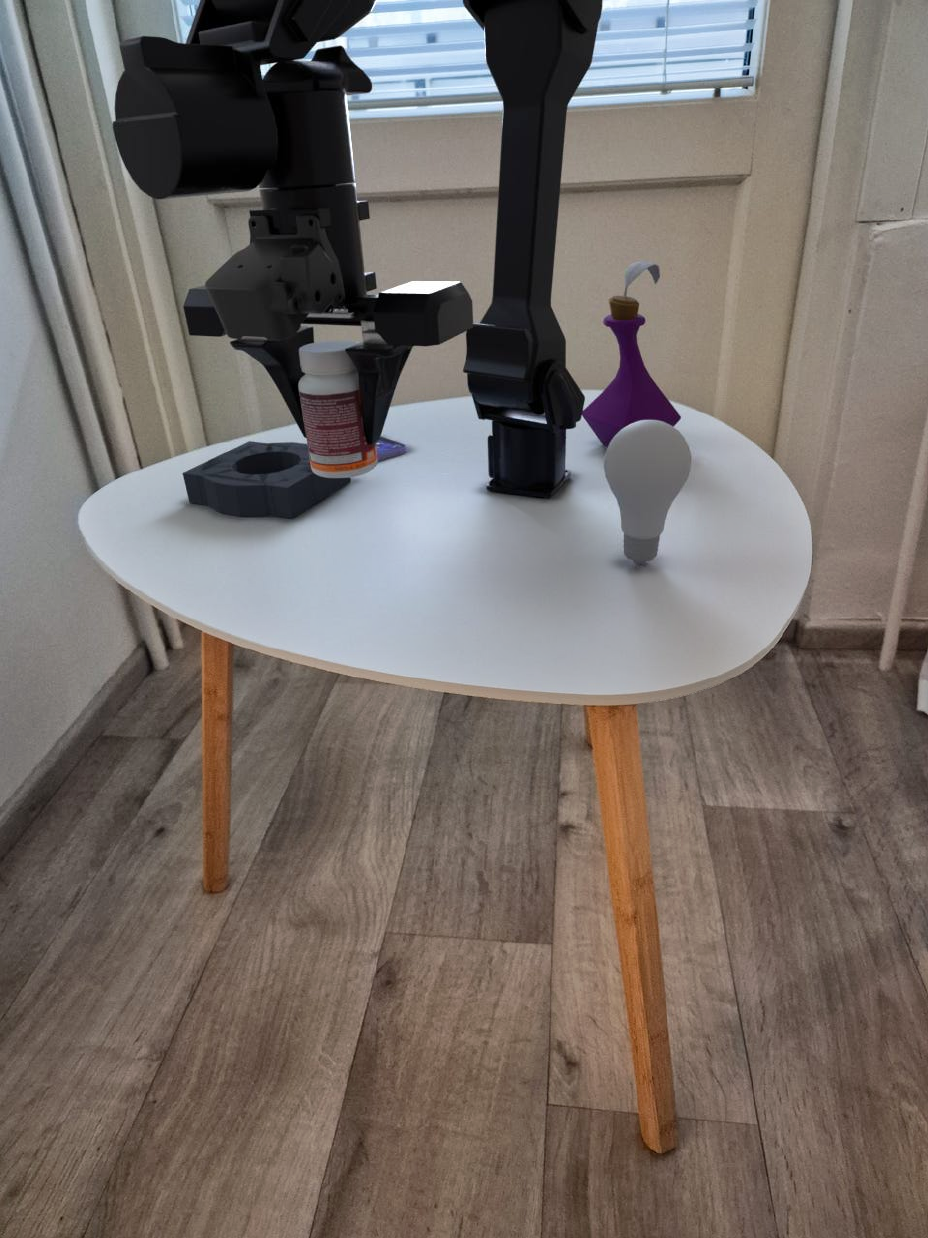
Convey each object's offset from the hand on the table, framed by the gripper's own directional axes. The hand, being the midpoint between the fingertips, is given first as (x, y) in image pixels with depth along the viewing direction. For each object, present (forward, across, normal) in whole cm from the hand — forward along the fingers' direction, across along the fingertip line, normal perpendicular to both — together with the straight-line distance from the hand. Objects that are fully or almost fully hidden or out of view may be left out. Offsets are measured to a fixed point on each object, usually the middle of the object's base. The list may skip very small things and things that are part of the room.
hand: (341, 440), depth 55 cm
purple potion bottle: (+11, +12, +36) cm, 40 cm away
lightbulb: (+11, +20, +9) cm, 24 cm away
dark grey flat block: (+11, -17, +13) cm, 24 cm away
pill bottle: (+2, 0, 0) cm, 2 cm away
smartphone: (+12, -16, +23) cm, 30 cm away
